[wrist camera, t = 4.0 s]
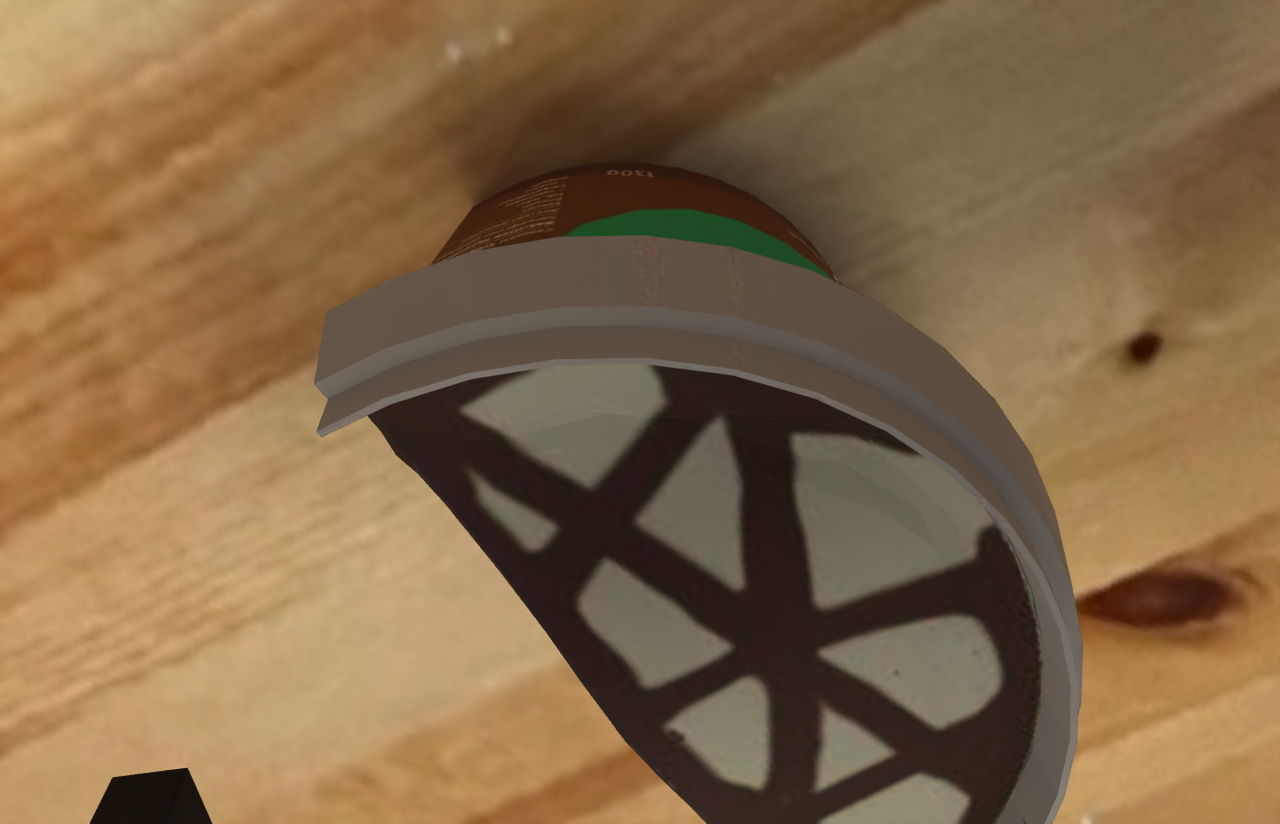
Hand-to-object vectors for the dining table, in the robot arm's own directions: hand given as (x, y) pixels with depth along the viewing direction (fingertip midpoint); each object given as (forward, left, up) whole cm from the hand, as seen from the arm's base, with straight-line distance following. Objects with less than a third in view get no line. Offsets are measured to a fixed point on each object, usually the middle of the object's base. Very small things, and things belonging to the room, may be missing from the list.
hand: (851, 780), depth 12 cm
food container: (0, 0, -12) cm, 12 cm away
